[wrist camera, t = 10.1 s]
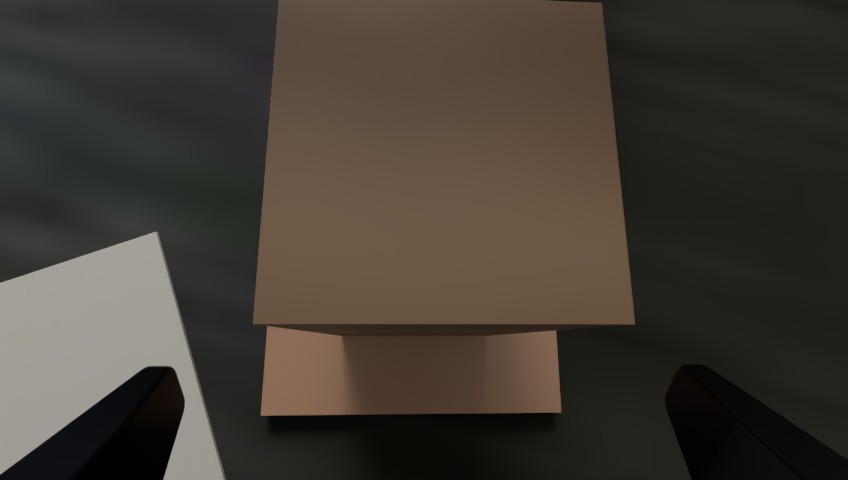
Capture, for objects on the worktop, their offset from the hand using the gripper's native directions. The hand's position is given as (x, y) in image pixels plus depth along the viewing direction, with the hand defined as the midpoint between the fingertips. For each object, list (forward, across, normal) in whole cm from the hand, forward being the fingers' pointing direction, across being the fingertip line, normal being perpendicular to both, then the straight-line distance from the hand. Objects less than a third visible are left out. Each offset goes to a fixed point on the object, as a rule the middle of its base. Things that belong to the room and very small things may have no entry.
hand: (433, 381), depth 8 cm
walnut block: (+8, 0, +3) cm, 8 cm away
